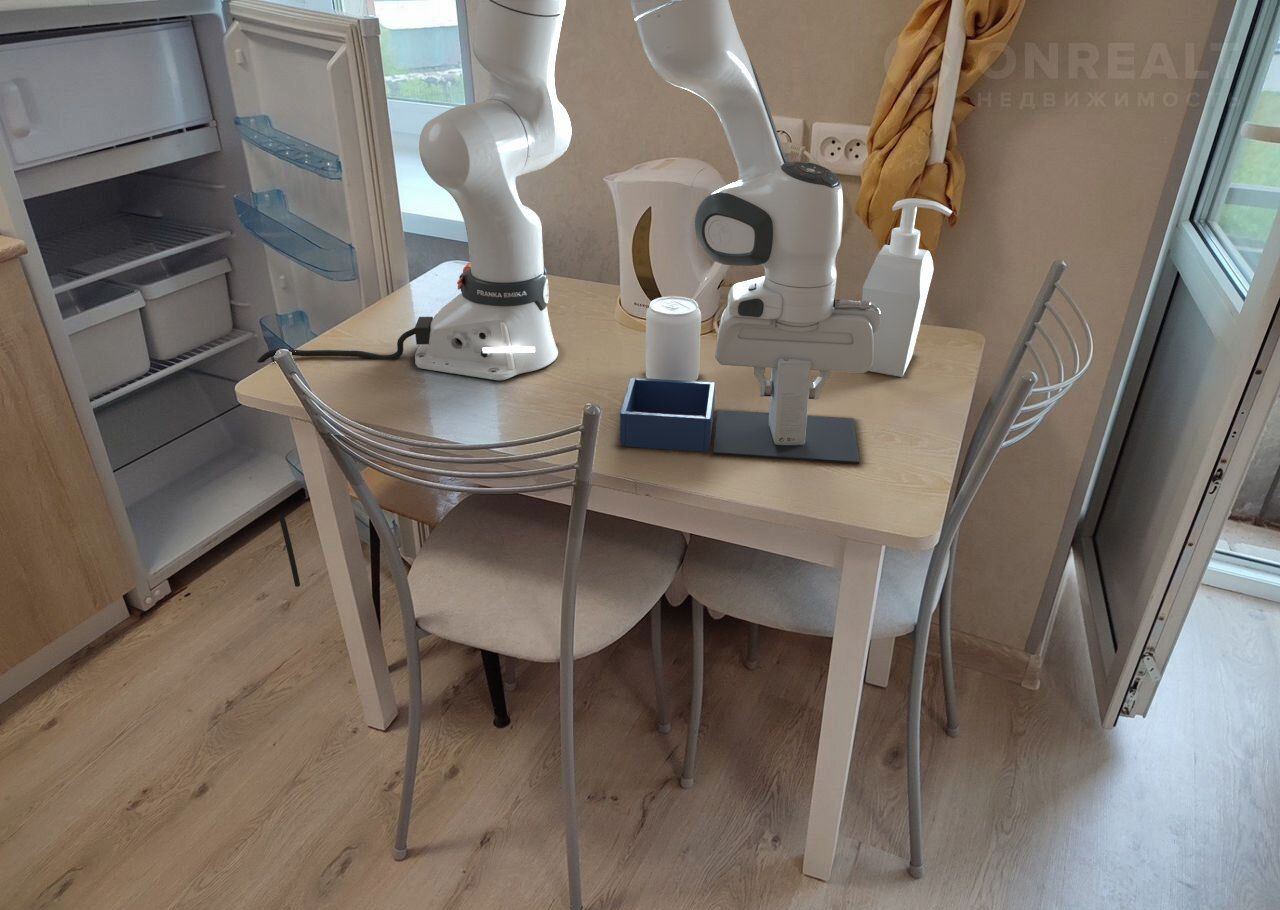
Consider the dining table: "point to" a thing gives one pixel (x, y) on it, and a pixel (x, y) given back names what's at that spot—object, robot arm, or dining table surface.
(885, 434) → the dining table surface
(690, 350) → the beverage can
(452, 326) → the robot arm
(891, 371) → the soap bottle
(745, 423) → the mat
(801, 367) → the cosmetic box
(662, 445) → the bin
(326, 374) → the dining table surface
